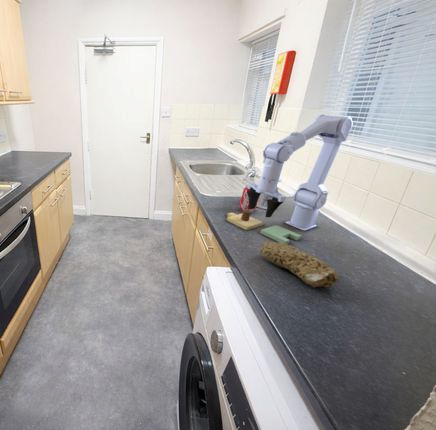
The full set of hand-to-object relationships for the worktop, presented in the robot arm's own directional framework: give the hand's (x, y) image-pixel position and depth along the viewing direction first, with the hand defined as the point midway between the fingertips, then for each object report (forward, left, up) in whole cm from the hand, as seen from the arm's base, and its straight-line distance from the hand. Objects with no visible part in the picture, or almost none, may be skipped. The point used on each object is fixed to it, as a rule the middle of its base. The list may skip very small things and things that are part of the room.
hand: (259, 212), depth 100 cm
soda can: (-18, -17, -10) cm, 27 cm away
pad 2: (-9, +5, -10) cm, 14 cm away
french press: (-31, -17, +3) cm, 36 cm away
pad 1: (-6, -10, -10) cm, 15 cm away
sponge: (+9, +20, -10) cm, 25 cm away
